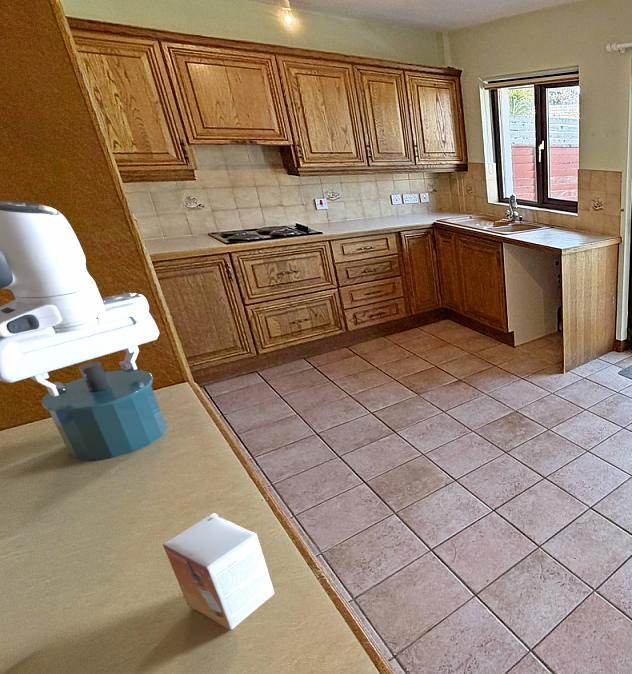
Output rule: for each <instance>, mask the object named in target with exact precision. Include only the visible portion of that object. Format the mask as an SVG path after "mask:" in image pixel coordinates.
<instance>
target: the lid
mask: <svg viewBox="0 0 632 674" xmlns="http://www.w3.org/2000/svg"><path fill="white" fill-rule="evenodd" d="M78 369H79V371H80V373H81V376H82V377H81V378H78V379H75V380H72V381H69V382H68V383H63V384H64V387H65V388H64V389H65V390H66V391H67V393H64V394H61V395H59V396H55V397H54V396H52V395H50V393H49V392H48V393H47V394H45V395H44V396H43V397H42V400H41V405H42V407H43V408H44V409H45V410H47V411H48V412H49V411H54V412H76V411H84V410H90V409H95V408H100V407H104V406H108V405H111V404H114V403H118V402H120V401H123V400H126V399H128V398H131V397H133V396H135V395H137V394H139V393H141V392H143V391H144V390H146V389H147V388H148V387H149V386H150V385H152V384H153V382H154V377H153V375H152V373H150V372H149V371H145V370H141V369H140V370H139V369H137V370H134V371H131V372H128V373H126V372H124V371H123V370H122V369H121V370H112V371H105V370H104V367H103V365H102V363H101V361H90V362H86V363H83V364H80V365H79V367H78Z"/></svg>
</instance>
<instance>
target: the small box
mask: <svg viewBox="0 0 632 674" xmlns="http://www.w3.org/2000/svg"><path fill="white" fill-rule="evenodd" d="M162 546H163V549H164V551H165V554H166V555H167V556H166V557H167V558H168V560H169V563H170V565H171V568H172V570H173V573H174V576H175V578H176V580H177V583H178V585H179V587H180V591H181V593H182V595H183V597H184V601H185V602H186V605H187V606H188V607H189V608H191V609H193V610H196V611H197V612H199V613H200V614H202V615H204V616H206V617H207V618H209V619H211V620H212V621H213V622H215V623H217V624H219V625H220V626H222V627H224V628H225V629H227V630H229V631H232V630H233V629H235V628H236V627H237V626H238V625H240V623H242V622H243V621H244V620H245V619H247V618H248V617H249V616H250V615H252V613H253V612H255V611H256V610H257V609H258V608H260V607H261V606H262V605H263V604H264V603H265V602H266V601H268V600H269V599H270V598H272V596H274V594H275V590H274V586H273V583H272V580H271V577H270V574H269V571H268V567H267V564H266V560H265V556H264V553H263V551H262V546H261V544H260V540H259V538H258V534H257V533H256V532H253V531H251V530H249V529H246V528H244V527H242V526H240V525H238V524H236V523H234V522H232V521H229V520H227V519H225V518H223V517H222V516H220V515H219V514H217V513H215V512H213V513H211V514H209V515H208V516H206V517H204V518H202V519H201V520H200V521H198V522H196V523H195V524H193V525H192V526H189V527H187V529H185V530H183V531H182V532H180V533H179V534H177V535H175V536H174V537H172V538H170V539H169V540H167V541H166V542H164V543H163V544H162Z"/></svg>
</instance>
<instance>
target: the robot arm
mask: <svg viewBox="0 0 632 674" xmlns="http://www.w3.org/2000/svg"><path fill="white" fill-rule="evenodd" d="M86 264H87V260H86V255H85V253H84V251H83V248H82V246H81V244H80V241H79V239H78V237H77V235H76V233H75V231H74V229H73V228H72V226H71V224H70V222H69V220H68V219H67V218H66V217H65V216H64V214H62V213H61V212H60V211H59V210H57V209H56V208H53V207H51V206H47V205H44V204H41V203H37V202H28V201H15V200H13V201H6V200H5V201H4V200H1V201H0V290H9V291H11V293H12V294H13V297H14V298H15V299H13V300H11V301H9V302H7V303H5V304H3V305H1V306H0V382H3V383H8V384H11V383H16V382H18V381H22V380H25V379H28V378H30V380H33V381H35V382H36V383H39V384H41V385H43V386H45V387H46V390H47V392H48V393H50V395H52V396H54V397H55V396H59V395H61V394H64V393H67V391H66V390H65V389H64V388H65V387H64V384H65V383H62V382H60V381H55V382H50V381H48V380H47V379H49V378H50V375H49V372H52V371H56V370H60V369H63V368H66V367H69V366H73V365H76V364H81V363H83V362H86V361H90V360H94V359H96V358H100V357H104V356H107V355H110V354H113V353H117V352H120V351H124V352H125V357H124V360H121V361H119V366H120V369H121V370H123V371H124V372H126V373H128V372H131V371H134V370H138V366H137V364H136V360H137V358H138V355H139V353H140V349H139V346H141V345H143V344H146V343H150V342H155V341H157V340H158V337H159V335H160V330H159V328H158V325H157V324H156V322H155V319H154V318H153V316H152V315H151V313H150V305H149V303H148V300H147V298H146V297H145V296H144V295H143V294H141V293H136V292H135V293H134V292H133V291H128V292H123V293H121V294H116V295H109V296H104V297H102V296H101V294H100V291H99V288H98V286H97V284H96V281H95V280H94V278H93V277H92V276H91V274H90V273H89V272H88V270H87V269H88V268H87V265H86Z"/></svg>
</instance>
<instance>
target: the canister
mask: <svg viewBox="0 0 632 674" xmlns="http://www.w3.org/2000/svg"><path fill="white" fill-rule="evenodd" d="M48 412H49V415H50V416H51V419H52V420H53V422H54V424H55V427H56V428H57V431H58V433H59V435H60V437H61V439H62V441H63V443H64V445H65V448H66V449H67V451H68V453H69V454H70V457H72V458H75V459H76V460H78V461H90V462H93V461H95V462H96V461H102V460H108V459H113V458H118V457H121V456H123V455H128V454H131V453H133V452H136V451H138V450H141V449H142V448H145V447H146V446H150V445H151V444H152V443H153V442H155V441H157V440H158V439H160V438H161V437H162V436H163V435H164V434H165V432H166V431H167V430H168V426H167V422H166V419H165V417H164V414H163V412H162V410H161V406H160V404H159V401H158V399H157V396H156V393H155V391H154V388H153V386H152V384H151V385H150V386H149V387H148V388H147V389H146V390H144V391H143V392H141V393H139V394H137V395H135V396H133V397H131V398H128V399H126V400H123V401H120V402H118V403H114V404H111V405H108V406H104V407H100V408H95V409H90V410H84V411H76V412H54V411H49V410H48Z"/></svg>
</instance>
